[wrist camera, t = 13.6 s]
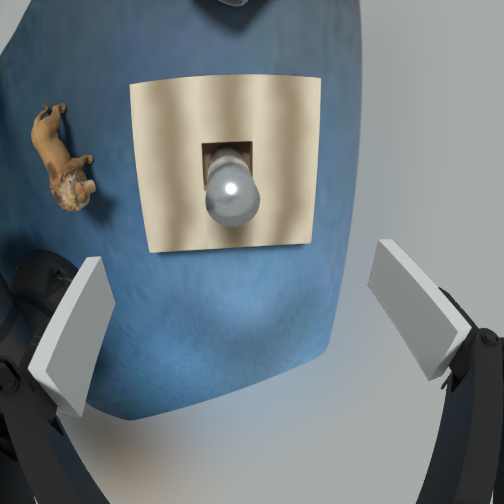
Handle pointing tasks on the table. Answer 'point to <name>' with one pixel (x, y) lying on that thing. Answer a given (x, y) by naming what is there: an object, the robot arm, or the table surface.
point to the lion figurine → (61, 162)
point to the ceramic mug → (234, 2)
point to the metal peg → (230, 188)
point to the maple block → (220, 133)
